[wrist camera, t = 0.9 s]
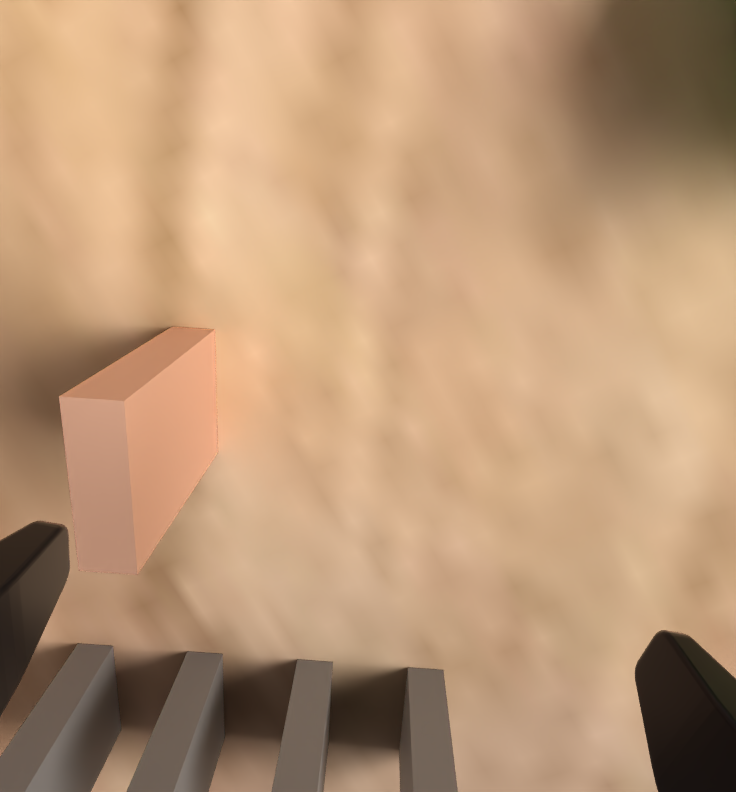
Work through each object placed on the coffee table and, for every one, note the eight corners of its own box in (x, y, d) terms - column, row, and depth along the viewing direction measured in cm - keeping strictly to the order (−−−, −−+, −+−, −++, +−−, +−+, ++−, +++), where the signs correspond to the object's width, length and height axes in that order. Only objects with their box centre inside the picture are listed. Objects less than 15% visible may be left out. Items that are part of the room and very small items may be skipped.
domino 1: (121, 729, 29) (25, 923, 21) (88, 727, 29) (-20, 919, 21) (113, 645, 27) (5, 822, 19) (78, 643, 27) (-43, 819, 19)
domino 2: (217, 452, 24) (137, 574, 16) (177, 449, 24) (78, 570, 16) (214, 329, 22) (124, 401, 14) (172, 326, 22) (58, 396, 14)
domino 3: (224, 737, 29) (166, 933, 21) (191, 734, 29) (121, 930, 21) (222, 653, 27) (158, 834, 19) (187, 651, 27) (109, 831, 19)
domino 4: (328, 745, 28) (306, 945, 21) (295, 742, 28) (261, 941, 21) (332, 662, 27) (310, 846, 19) (297, 659, 27) (261, 842, 19)
